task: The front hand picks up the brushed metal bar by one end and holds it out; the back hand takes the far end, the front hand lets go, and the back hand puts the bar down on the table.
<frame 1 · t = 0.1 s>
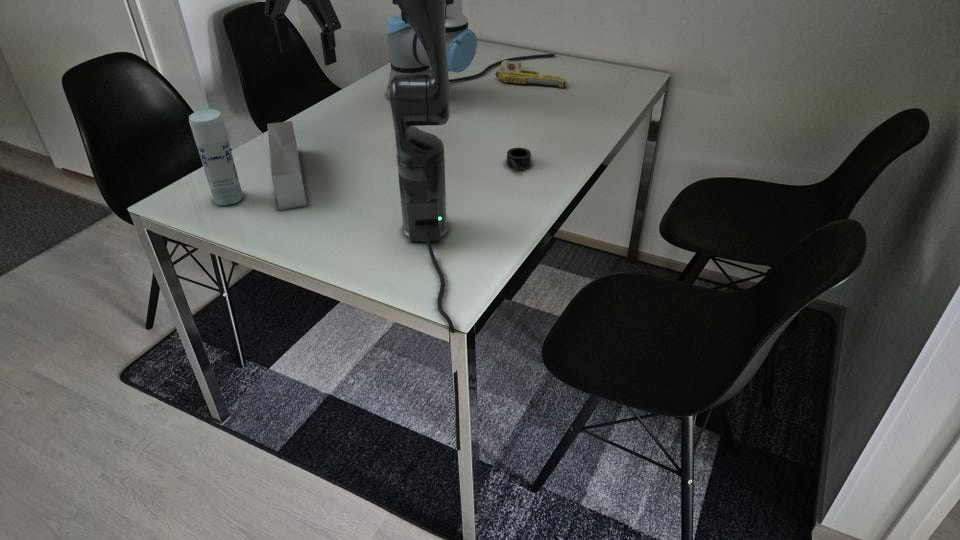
front hand: (424, 22, 150), 29 cm above the table, tool pointing down, fingers open, 8 cm apart
back hand: (308, 57, 135), 28 cm above the table, tool pointing down, fingers open, 13 cm apart
duct tape: (518, 164, 155), on the table
bar: (289, 178, 150), on the table
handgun: (531, 78, 200), on the table
spray paint can: (228, 199, 142), on the table
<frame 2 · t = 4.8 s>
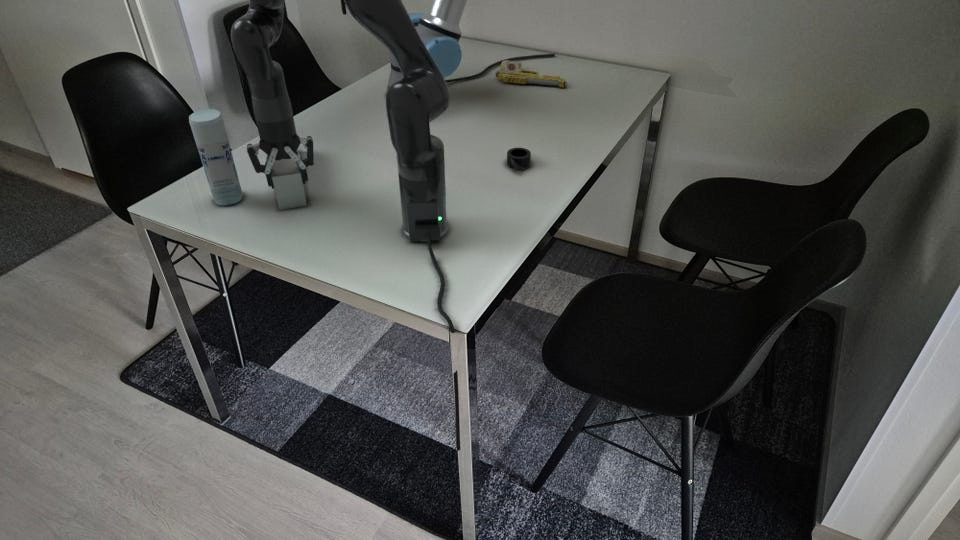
front hand: (288, 184, 140), 4 cm above the table, tool pointing down, fingers closed on bar, 6 cm apart
back hand: (315, 15, 149), 31 cm above the table, tool pointing down, fingers open, 13 cm apart
bar: (289, 178, 150), on the table, touching front hand
everything else where it was.
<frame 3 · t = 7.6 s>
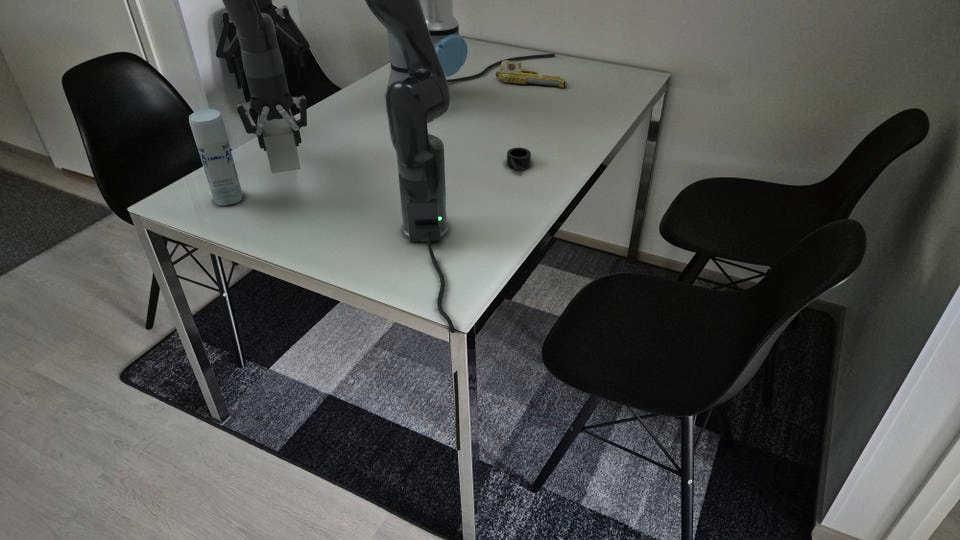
front hand: (281, 146, 134), 13 cm above the table, tool pointing down, fingers closed on bar, 6 cm apart
back hand: (270, 83, 145), 20 cm above the table, tool pointing down, fingers open, 13 cm apart
bar: (282, 143, 144), point 9 cm above the table, touching front hand
everything else where it was.
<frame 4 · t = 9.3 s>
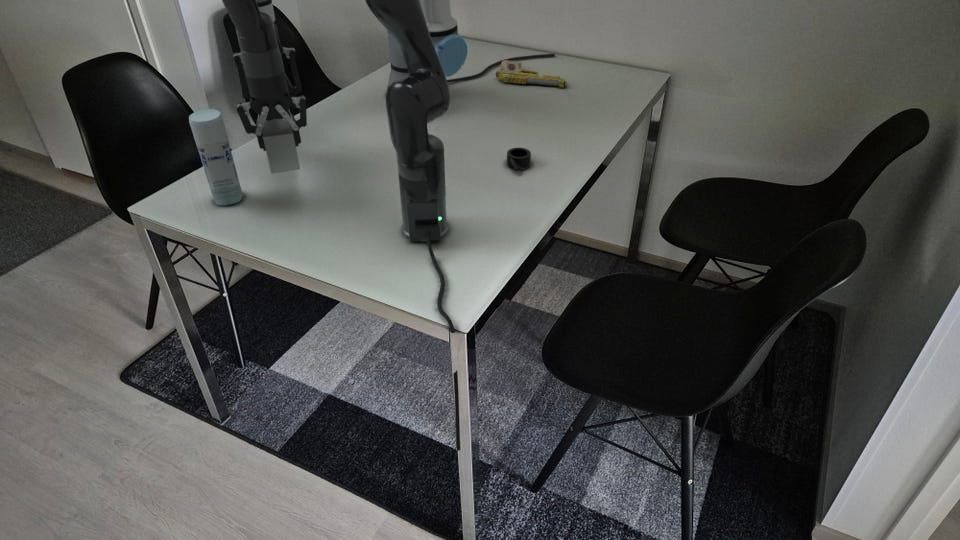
front hand: (281, 147, 134), 13 cm above the table, tool pointing down, fingers closed on bar, 6 cm apart
back hand: (279, 122, 151), 10 cm above the table, tool pointing down, fingers closed on bar, 6 cm apart
bar: (282, 143, 144), point 9 cm above the table, touching front hand, back hand
everything else where it was.
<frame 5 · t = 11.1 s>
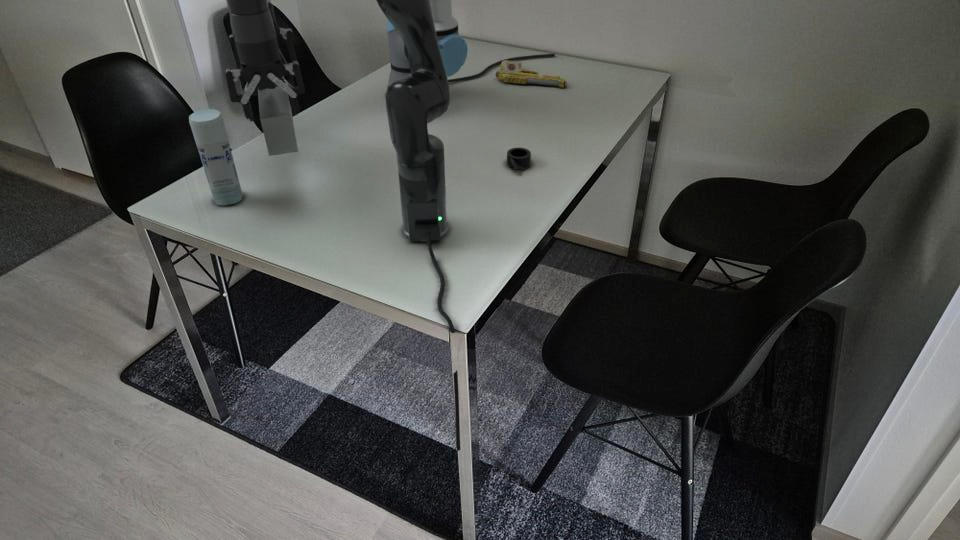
front hand: (273, 117, 127), 21 cm above the table, tool pointing down, fingers open, 8 cm apart
back hand: (277, 105, 149), 14 cm above the table, tool pointing down, fingers closed on bar, 6 cm apart
bar: (280, 126, 142), point 13 cm above the table, touching back hand
everything else where it was.
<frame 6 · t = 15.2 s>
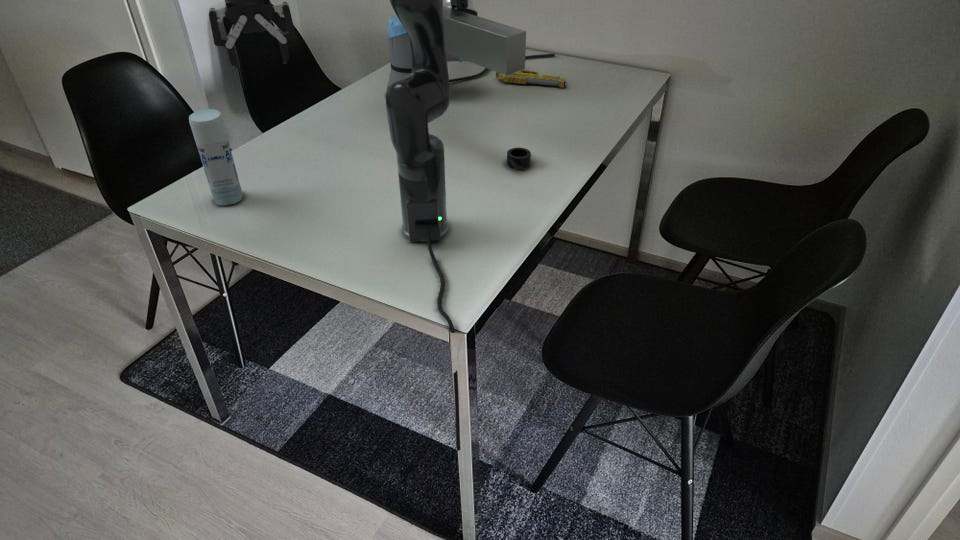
front hand: (261, 64, 117), 33 cm above the table, tool pointing down, fingers open, 8 cm apart
back hand: (444, 43, 153), 24 cm above the table, tool pointing down, fingers closed on bar, 6 cm apart
bar: (473, 56, 147), point 24 cm above the table, touching back hand
everything else where it was.
when the back hand's fingers open (2 cm above the table, at t = 21.0 s): bar drops 1 cm, on the table.
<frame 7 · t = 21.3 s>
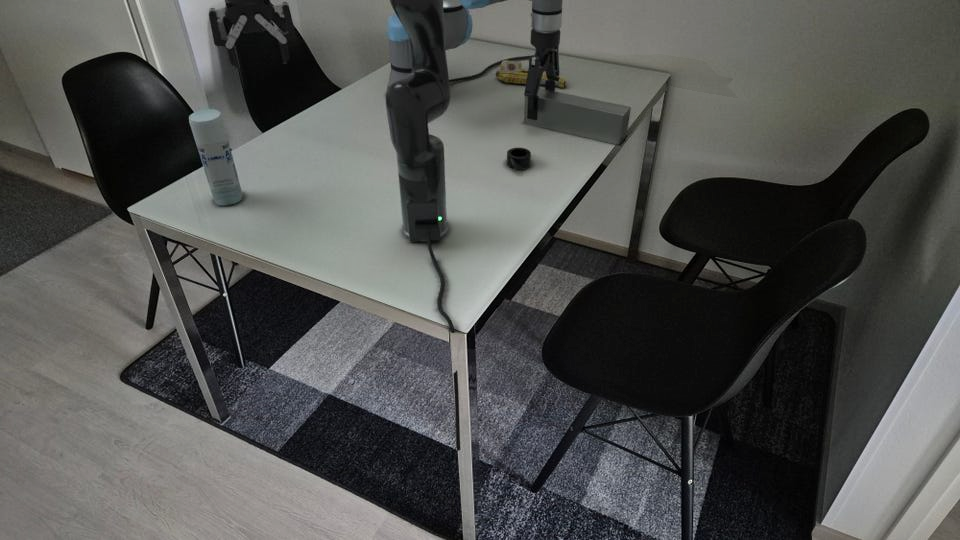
front hand: (261, 64, 117), 33 cm above the table, tool pointing down, fingers open, 8 cm apart
back hand: (540, 111, 172), 3 cm above the table, tool pointing down, fingers open, 10 cm apart
bar: (574, 129, 171), on the table
everything else where it was.
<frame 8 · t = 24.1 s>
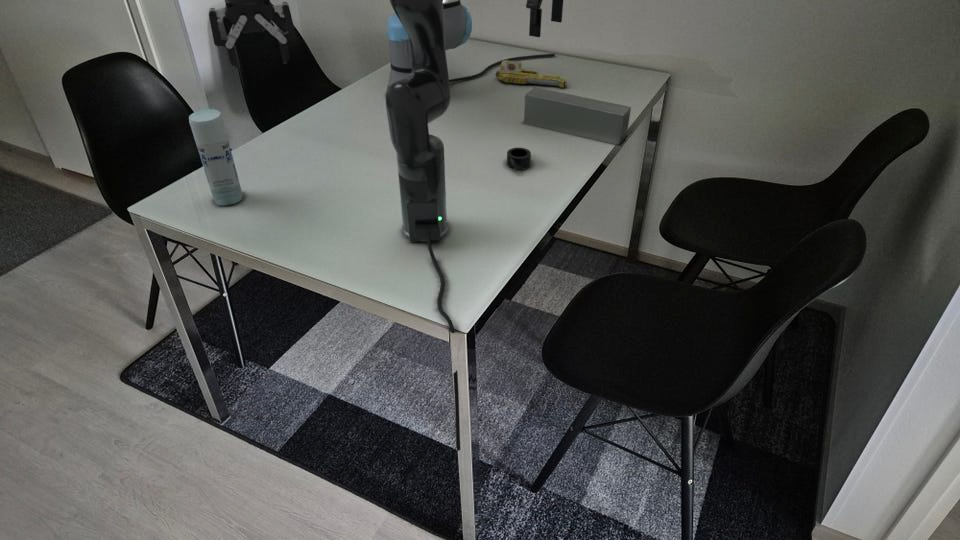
front hand: (261, 64, 117), 33 cm above the table, tool pointing down, fingers open, 8 cm apart
back hand: (545, 28, 159), 25 cm above the table, tool pointing down, fingers open, 13 cm apart
nothing on the table moved.
at the end: bar inside the target area (10.1 cm from its centre), on the table; the front hand is holding nothing; the back hand is holding nothing; bar at rest at the end (0.0 cm/s) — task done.
